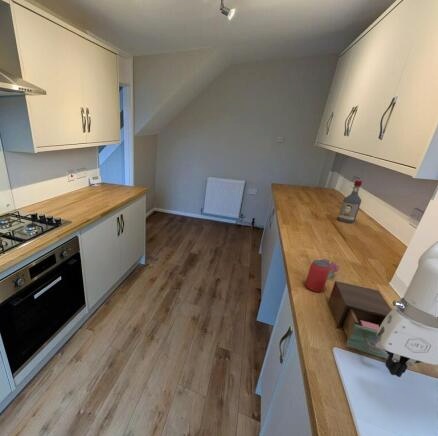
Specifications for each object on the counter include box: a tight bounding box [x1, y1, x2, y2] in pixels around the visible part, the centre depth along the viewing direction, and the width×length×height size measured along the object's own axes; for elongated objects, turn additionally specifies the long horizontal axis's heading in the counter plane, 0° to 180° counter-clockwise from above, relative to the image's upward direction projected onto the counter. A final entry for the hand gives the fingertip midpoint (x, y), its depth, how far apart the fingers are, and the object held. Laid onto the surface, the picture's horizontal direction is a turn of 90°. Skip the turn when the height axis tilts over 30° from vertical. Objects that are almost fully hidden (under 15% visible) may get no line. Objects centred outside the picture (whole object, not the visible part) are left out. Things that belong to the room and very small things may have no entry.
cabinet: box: [327, 280, 393, 330], centre depth 82 cm, size 15×13×10 cm
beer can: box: [304, 259, 330, 293], centre depth 98 cm, size 7×7×12 cm
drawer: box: [342, 308, 389, 359], centre depth 72 cm, size 18×11×8 cm, turn 154°
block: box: [358, 320, 379, 330], centre depth 72 cm, size 4×4×4 cm
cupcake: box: [321, 253, 340, 279], centre depth 107 cm, size 9×8×12 cm
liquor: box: [337, 180, 363, 224], centre depth 171 cm, size 9×9×30 cm
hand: (392, 370), depth 59 cm, fingers closed
